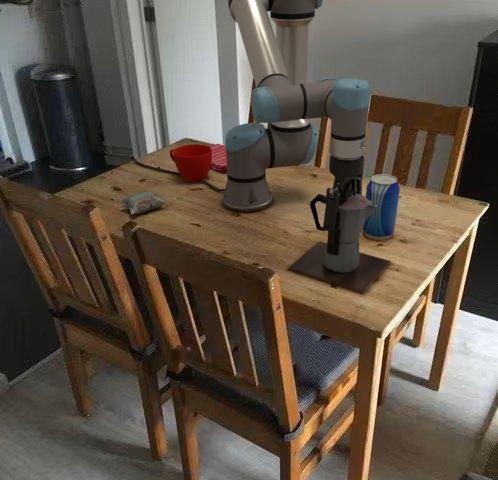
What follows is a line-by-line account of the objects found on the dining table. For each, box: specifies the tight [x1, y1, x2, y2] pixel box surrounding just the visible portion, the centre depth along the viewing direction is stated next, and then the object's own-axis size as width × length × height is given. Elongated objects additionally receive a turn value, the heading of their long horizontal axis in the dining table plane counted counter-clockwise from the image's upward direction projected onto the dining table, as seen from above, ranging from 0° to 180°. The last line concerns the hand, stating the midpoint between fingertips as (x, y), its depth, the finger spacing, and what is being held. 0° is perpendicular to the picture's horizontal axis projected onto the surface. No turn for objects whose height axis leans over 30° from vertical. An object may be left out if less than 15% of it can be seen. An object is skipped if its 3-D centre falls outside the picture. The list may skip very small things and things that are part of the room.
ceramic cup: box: [169, 143, 212, 183], centre depth 185 cm, size 13×17×10 cm
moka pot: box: [309, 189, 377, 273], centre depth 128 cm, size 10×15×20 cm, turn 78°
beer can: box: [362, 173, 401, 241], centre depth 143 cm, size 8×8×16 cm
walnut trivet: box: [287, 241, 391, 295], centre depth 134 cm, size 20×16×1 cm
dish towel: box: [208, 143, 227, 174], centre depth 200 cm, size 17×24×3 cm
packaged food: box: [119, 190, 168, 216], centre depth 165 cm, size 9×12×5 cm
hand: (341, 246), depth 131 cm, fingers open, 8 cm apart
